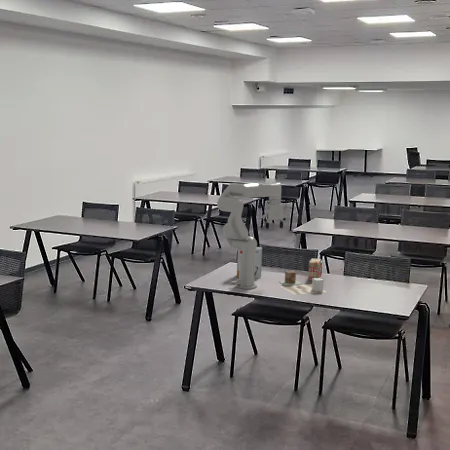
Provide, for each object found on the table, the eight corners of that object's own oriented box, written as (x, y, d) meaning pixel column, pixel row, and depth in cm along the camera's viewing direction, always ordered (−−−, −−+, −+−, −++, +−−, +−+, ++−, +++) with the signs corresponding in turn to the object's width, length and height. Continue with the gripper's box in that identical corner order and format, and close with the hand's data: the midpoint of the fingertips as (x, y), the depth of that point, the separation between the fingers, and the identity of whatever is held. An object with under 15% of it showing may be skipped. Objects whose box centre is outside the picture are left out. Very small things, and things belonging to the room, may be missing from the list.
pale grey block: (315, 291, 371) (316, 280, 370) (311, 289, 376) (312, 278, 374) (323, 291, 373) (323, 279, 372) (319, 289, 377) (319, 277, 376)
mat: (284, 285, 385) (284, 284, 385) (278, 282, 393) (278, 281, 393) (302, 284, 389) (302, 283, 389) (295, 280, 397) (295, 280, 397)
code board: (294, 295, 363) (294, 294, 363) (280, 286, 382) (280, 286, 382) (327, 292, 371) (327, 292, 371) (311, 284, 389) (311, 283, 389)
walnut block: (288, 283, 388) (288, 272, 387) (284, 281, 392) (285, 271, 391) (295, 283, 389) (295, 272, 388) (292, 281, 394) (292, 270, 393)
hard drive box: (236, 277, 404) (236, 247, 401) (238, 274, 411) (239, 245, 408) (259, 279, 401) (260, 249, 397) (261, 276, 408) (262, 246, 405)
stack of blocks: (312, 273, 420) (313, 255, 418) (322, 274, 418) (322, 256, 416) (308, 280, 399) (309, 261, 397) (318, 281, 398) (318, 262, 396)
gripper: (264, 203, 388) (264, 229, 390) (289, 202, 393) (288, 228, 396) (260, 201, 395) (259, 228, 397) (284, 200, 400) (283, 226, 403)
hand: (274, 228), depth 397 cm, fingers open, 9 cm apart
